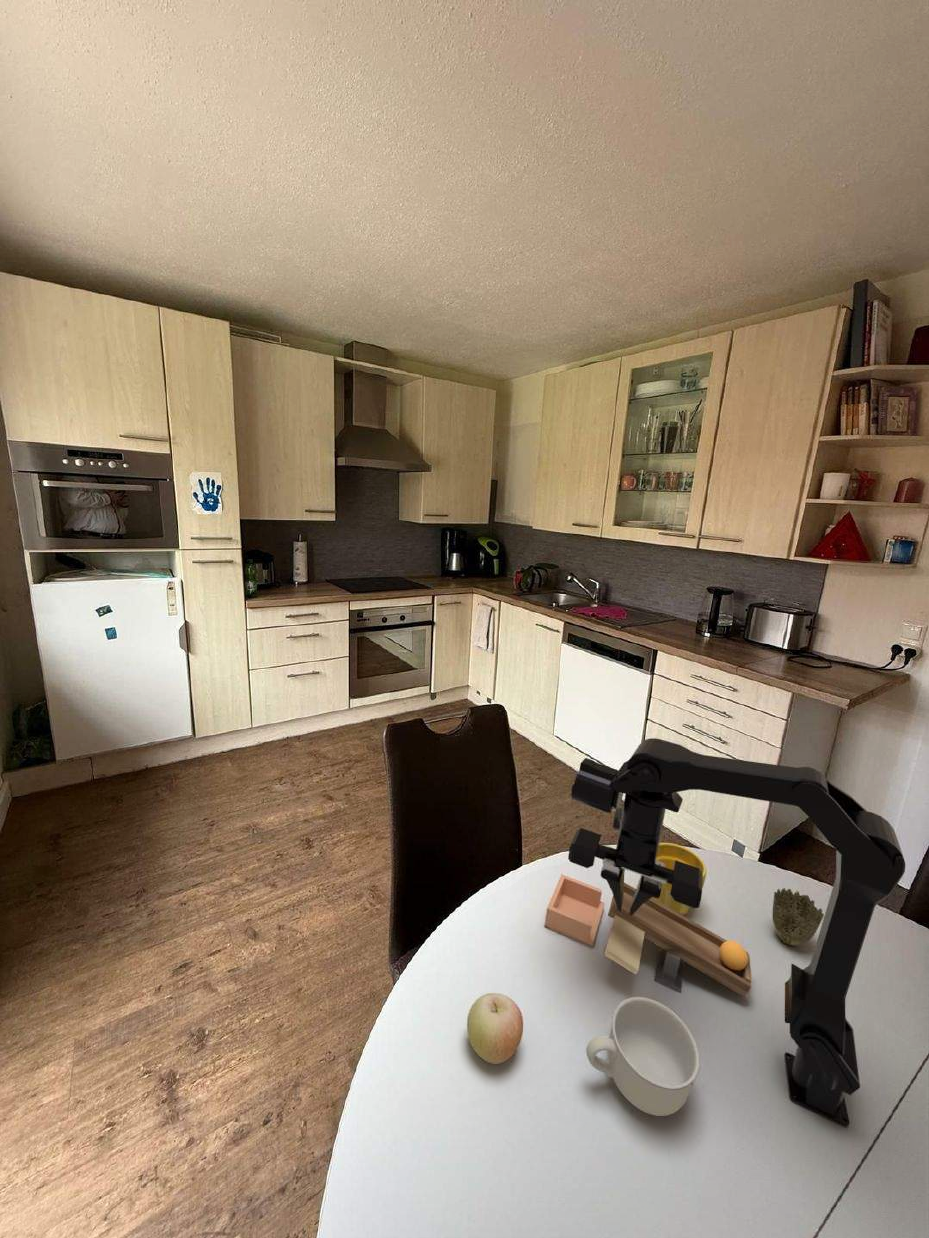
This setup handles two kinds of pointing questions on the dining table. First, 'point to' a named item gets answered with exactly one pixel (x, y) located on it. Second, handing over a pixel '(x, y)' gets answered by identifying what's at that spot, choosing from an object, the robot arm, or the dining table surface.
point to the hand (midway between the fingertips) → (625, 911)
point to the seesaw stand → (669, 969)
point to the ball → (733, 955)
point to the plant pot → (668, 857)
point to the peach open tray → (575, 910)
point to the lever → (669, 940)
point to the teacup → (648, 1056)
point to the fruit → (495, 1027)
